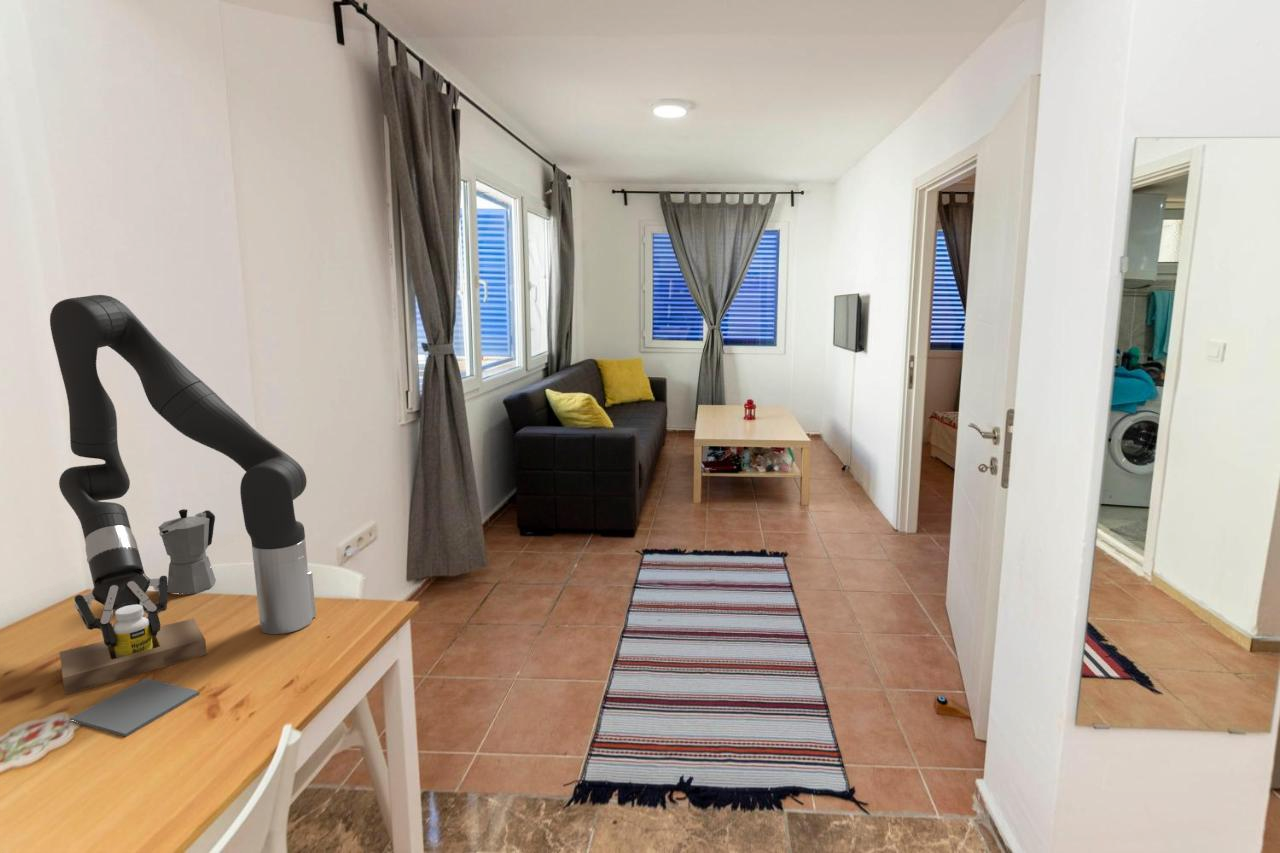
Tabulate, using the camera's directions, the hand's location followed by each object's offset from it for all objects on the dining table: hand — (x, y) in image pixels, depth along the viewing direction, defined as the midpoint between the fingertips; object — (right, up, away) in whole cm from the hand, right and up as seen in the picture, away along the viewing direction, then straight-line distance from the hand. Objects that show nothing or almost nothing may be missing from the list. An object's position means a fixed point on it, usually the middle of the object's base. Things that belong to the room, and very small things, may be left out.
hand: (134, 639), depth 123 cm
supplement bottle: (-1, -5, +2) cm, 5 cm away
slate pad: (+9, -7, -12) cm, 16 cm away
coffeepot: (-11, +2, +34) cm, 36 cm away
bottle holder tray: (-1, -4, +2) cm, 5 cm away
